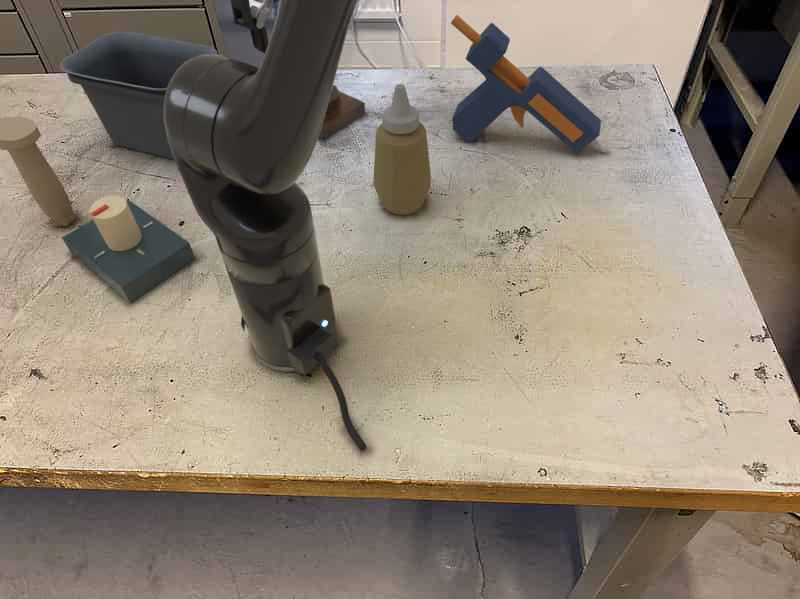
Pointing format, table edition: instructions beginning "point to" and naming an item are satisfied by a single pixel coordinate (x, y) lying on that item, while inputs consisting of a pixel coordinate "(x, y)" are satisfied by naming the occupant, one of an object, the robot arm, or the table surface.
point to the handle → (35, 169)
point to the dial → (116, 223)
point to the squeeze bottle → (401, 157)
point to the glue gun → (519, 94)
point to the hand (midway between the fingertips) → (285, 39)
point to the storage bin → (131, 84)
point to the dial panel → (132, 255)
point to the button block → (340, 112)
